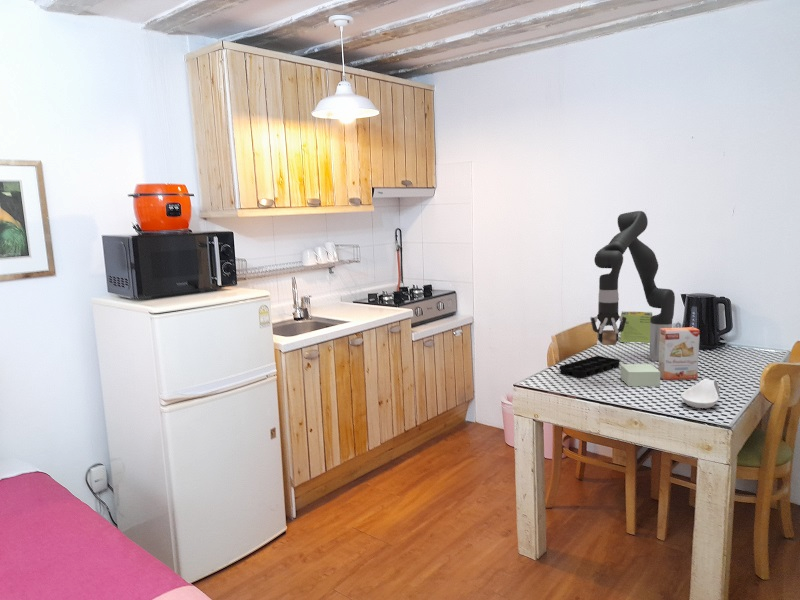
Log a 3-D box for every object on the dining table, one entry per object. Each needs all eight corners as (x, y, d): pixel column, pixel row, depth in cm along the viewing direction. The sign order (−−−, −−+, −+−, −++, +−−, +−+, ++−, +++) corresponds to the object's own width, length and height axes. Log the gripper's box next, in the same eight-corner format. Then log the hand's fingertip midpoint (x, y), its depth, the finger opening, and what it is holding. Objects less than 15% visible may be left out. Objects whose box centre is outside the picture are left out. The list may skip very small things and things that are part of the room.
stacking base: (650, 378, 238) (650, 364, 237) (659, 386, 226) (660, 371, 225) (620, 378, 239) (620, 364, 238) (628, 386, 227) (628, 372, 226)
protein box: (651, 344, 296) (652, 315, 294) (620, 343, 302) (620, 314, 300) (651, 340, 306) (652, 311, 303) (620, 338, 312) (621, 310, 309)
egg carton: (555, 375, 248) (555, 367, 248) (585, 361, 270) (585, 353, 269) (594, 382, 236) (594, 373, 236) (622, 366, 258) (623, 358, 258)
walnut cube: (612, 342, 233) (612, 330, 232) (615, 344, 228) (616, 332, 227) (600, 342, 233) (600, 330, 233) (603, 345, 228) (603, 332, 228)
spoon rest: (713, 414, 194) (714, 394, 193) (676, 407, 202) (676, 388, 201) (729, 396, 212) (730, 377, 211) (694, 391, 219) (695, 373, 218)
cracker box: (664, 380, 233) (665, 330, 230) (657, 376, 239) (658, 327, 236) (698, 379, 233) (700, 329, 230) (691, 375, 239) (692, 326, 236)
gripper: (624, 298, 231) (623, 339, 233) (587, 299, 233) (587, 340, 235) (629, 301, 224) (628, 343, 226) (592, 302, 225) (591, 344, 228)
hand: (607, 341), depth 230 cm, fingers closed on walnut cube, 5 cm apart
